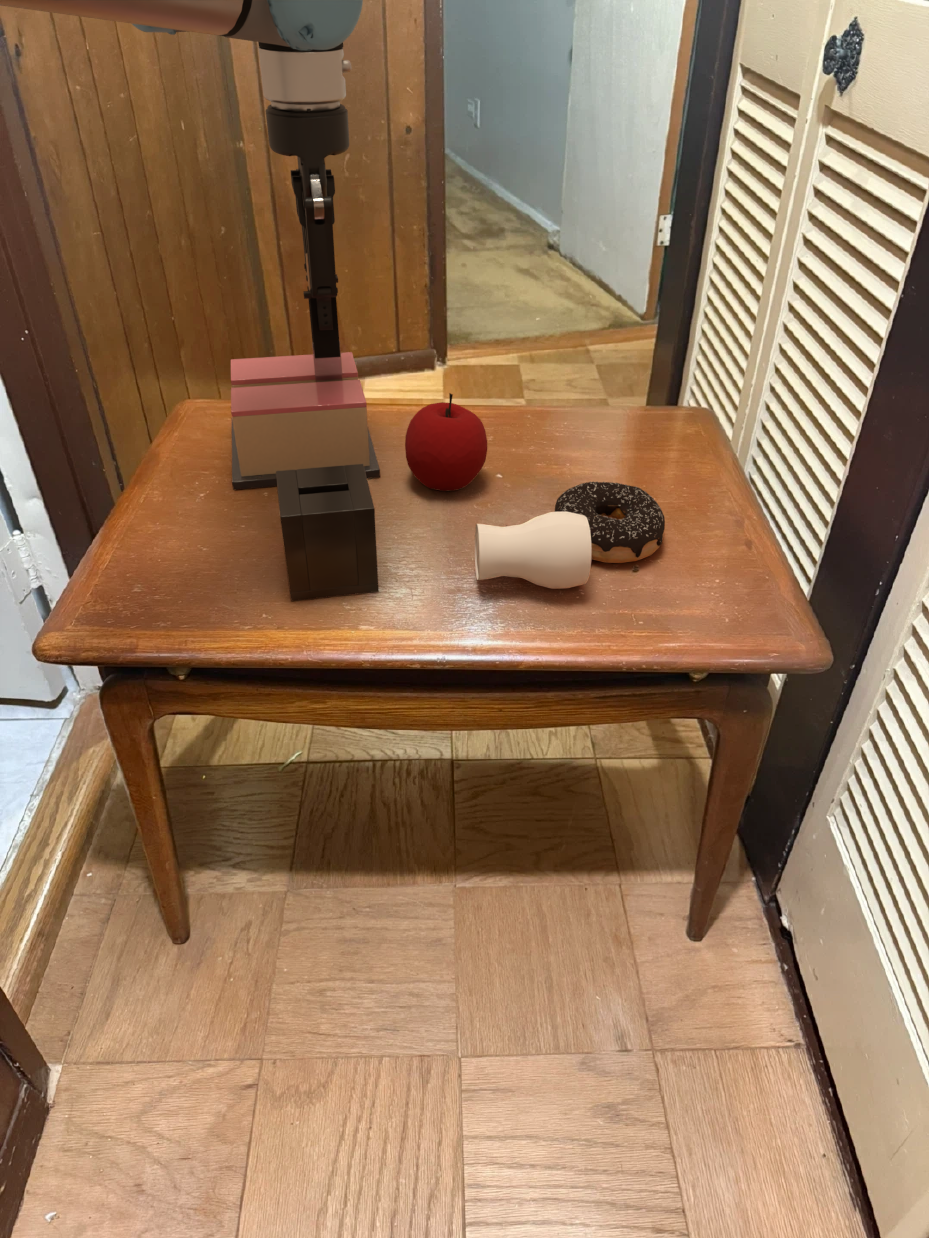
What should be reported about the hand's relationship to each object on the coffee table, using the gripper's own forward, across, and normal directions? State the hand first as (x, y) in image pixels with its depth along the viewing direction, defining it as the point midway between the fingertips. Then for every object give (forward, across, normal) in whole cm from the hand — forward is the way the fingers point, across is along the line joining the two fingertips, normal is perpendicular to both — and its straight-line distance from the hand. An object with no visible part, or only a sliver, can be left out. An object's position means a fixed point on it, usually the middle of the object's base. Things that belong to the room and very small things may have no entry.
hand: (326, 351), depth 94 cm
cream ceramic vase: (+12, -30, -15) cm, 36 cm away
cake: (+12, 0, +4) cm, 12 cm away
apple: (+12, -10, -11) cm, 19 cm away
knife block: (+12, -25, +3) cm, 28 cm away
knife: (+9, 0, 0) cm, 9 cm away
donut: (+12, -24, -25) cm, 37 cm away
